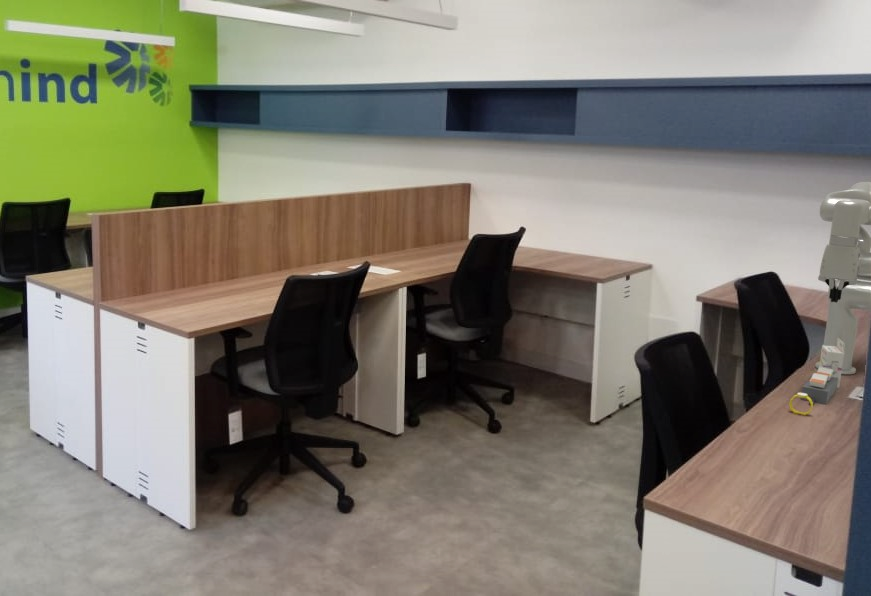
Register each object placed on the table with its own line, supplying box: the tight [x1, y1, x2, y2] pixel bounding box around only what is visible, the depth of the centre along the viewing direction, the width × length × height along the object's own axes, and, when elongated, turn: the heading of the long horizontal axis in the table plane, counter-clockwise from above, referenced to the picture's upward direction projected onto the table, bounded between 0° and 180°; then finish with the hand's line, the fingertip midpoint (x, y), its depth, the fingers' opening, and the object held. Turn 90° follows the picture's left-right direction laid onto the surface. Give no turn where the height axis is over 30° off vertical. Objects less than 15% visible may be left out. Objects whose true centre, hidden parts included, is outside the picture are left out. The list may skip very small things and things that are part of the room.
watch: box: [788, 392, 814, 416], centre depth 226 cm, size 6×3×6 cm, turn 55°
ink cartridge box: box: [819, 338, 845, 389], centre depth 255 cm, size 9×5×15 cm, turn 168°
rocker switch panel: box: [800, 376, 838, 406], centre depth 243 cm, size 22×7×5 cm, turn 145°
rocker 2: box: [816, 367, 833, 381], centre depth 247 cm, size 6×4×2 cm
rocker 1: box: [809, 372, 828, 388], centre depth 240 cm, size 6×4×2 cm
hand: (834, 301), depth 241 cm, fingers closed
